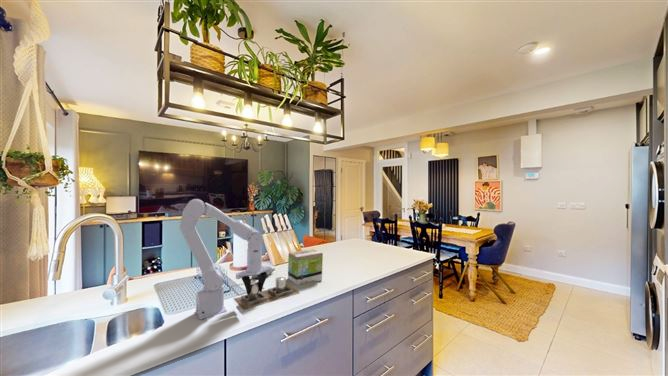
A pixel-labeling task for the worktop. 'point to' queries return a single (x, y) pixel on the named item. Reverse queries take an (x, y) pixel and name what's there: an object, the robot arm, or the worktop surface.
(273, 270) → the packaged food
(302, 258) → the tea box
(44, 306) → the worktop surface
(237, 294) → the tray
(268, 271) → the robot arm
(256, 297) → the loose billet
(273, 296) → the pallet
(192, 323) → the worktop surface
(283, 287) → the disc
